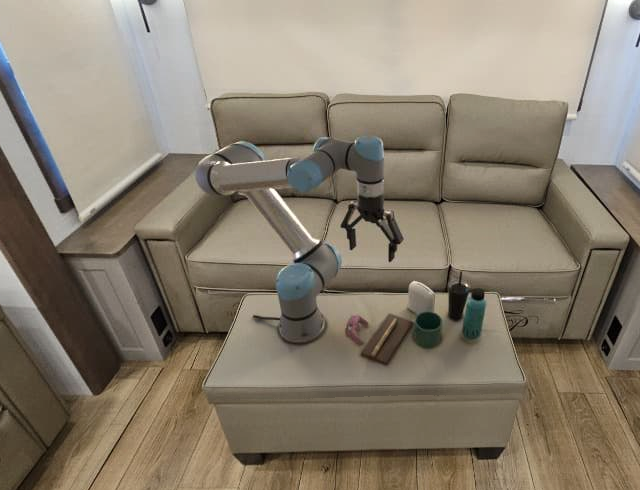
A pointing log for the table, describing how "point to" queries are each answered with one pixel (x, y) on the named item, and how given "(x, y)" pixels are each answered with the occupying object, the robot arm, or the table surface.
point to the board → (387, 339)
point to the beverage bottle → (474, 314)
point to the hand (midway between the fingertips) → (371, 253)
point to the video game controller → (354, 327)
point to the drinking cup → (457, 297)
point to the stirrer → (384, 337)
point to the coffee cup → (427, 329)
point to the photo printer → (420, 298)
